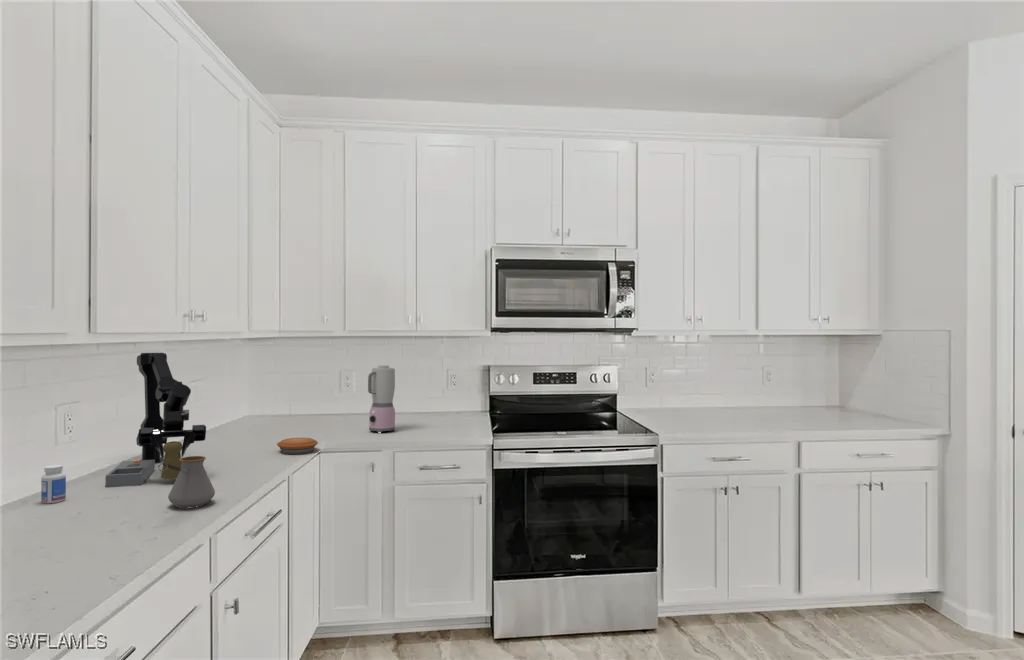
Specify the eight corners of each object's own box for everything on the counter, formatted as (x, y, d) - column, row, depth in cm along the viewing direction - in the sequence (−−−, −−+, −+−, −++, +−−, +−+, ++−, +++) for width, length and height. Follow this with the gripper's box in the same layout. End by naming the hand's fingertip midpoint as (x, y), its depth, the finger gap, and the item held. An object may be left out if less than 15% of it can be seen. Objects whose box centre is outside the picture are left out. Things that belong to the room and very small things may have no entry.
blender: (382, 428, 294) (384, 364, 294) (400, 431, 287) (401, 365, 287) (358, 432, 281) (359, 365, 281) (376, 435, 274) (377, 367, 274)
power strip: (122, 471, 198) (122, 459, 198) (154, 469, 201) (154, 457, 201) (105, 487, 179) (105, 473, 179) (141, 484, 182) (141, 471, 182)
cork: (178, 473, 190) (179, 439, 190) (186, 476, 186) (187, 442, 186) (157, 476, 185) (158, 441, 185) (165, 480, 182) (166, 444, 182)
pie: (276, 456, 226) (277, 443, 226) (276, 448, 240) (277, 436, 240) (318, 454, 231) (319, 441, 231) (316, 446, 246) (316, 435, 246)
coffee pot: (181, 498, 169) (182, 446, 169) (221, 498, 170) (223, 446, 170) (137, 522, 148) (138, 463, 148) (184, 523, 148) (185, 463, 148)
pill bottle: (68, 497, 167) (69, 463, 167) (61, 503, 162) (62, 467, 162) (45, 499, 165) (46, 464, 165) (37, 504, 160) (38, 468, 160)
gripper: (139, 402, 184) (137, 444, 175) (206, 400, 194) (207, 439, 184) (140, 423, 191) (137, 464, 182) (204, 420, 201) (205, 459, 191)
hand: (172, 456), depth 185 cm, fingers closed on cork, 5 cm apart
